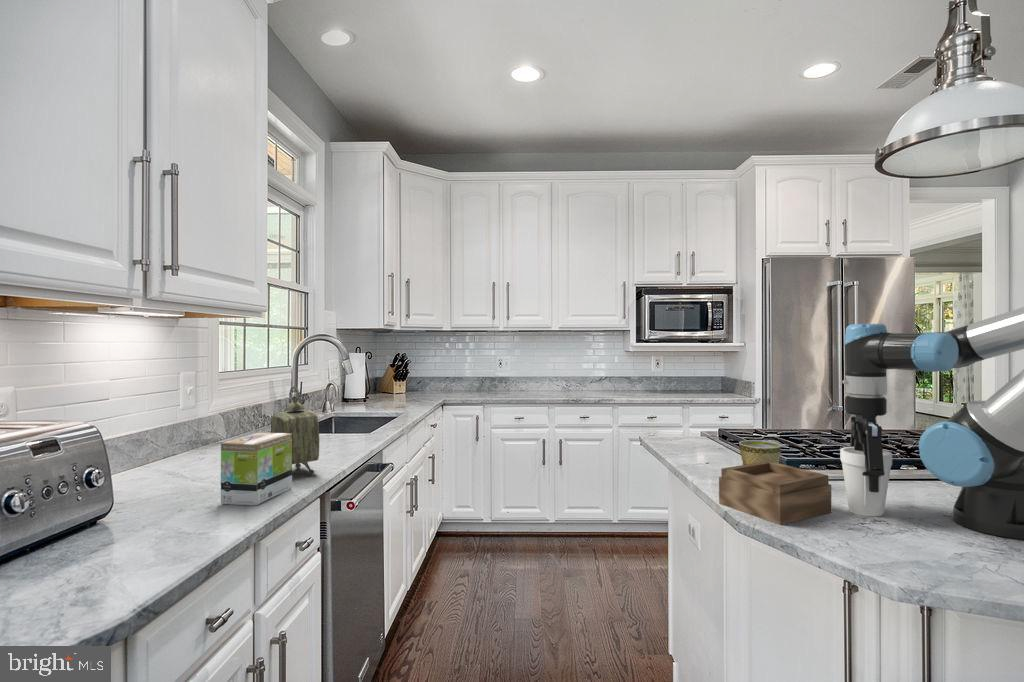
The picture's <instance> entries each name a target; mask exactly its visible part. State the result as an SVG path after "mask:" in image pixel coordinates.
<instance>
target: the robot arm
mask: <svg viewBox="0 0 1024 682" xmlns="http://www.w3.org/2000/svg"><path fill="white" fill-rule="evenodd" d="M844 337H845V338H844V344H843V345H844V355H845V356H844V358H845V359H844V360H845V361H844V362H845V366H844V367H845V373H844V374H845V377H844V378H845V379H843V380H842V381H841V382H842V384H843V385H844V387H845V388H844V389H845V393H846V394H848V395H846V396H845V397H844V398H845V399H844V400H845V401H844V411H845V413H847V414H850V415H854V416H851V417H850V422H851V423H850V424H851V425H850V427H851V428H850V442H849V443H850V444H849V447H855V450H857V451H863V453H864V455H865V468H866V472H863V473H862V475H863V476H864V506H865V507H877V508H881V476H884V464H883V451H882V450H883V443H882V442H883V441H882V435H883V433H882V432H883V428H882V426H881V425H879V424H878V423H877V419H876V418H877V417H878V416H879V417H880V416H881V417H882V416H885V415H886V414H887V410H888V409H887V407H888V406H887V401H888V400H887V398H886V397H885V395H888V383H887V381H888V380H887V379H888V377H887V371H888V370H900V371H901V370H904V371H918V372H925V373H933V372H934V373H937V372H949V371H951V370H952V369H961V368H966V367H969V366H971V365H973V364H975V363H978V362H982V361H984V360H987V359H991V358H995V357H1000V356H1003V355H1006V354H1007V355H1008V354H1011V353H1015V352H1017V351H1023V350H1024V306H1023V307H1020V308H1017V309H1013V310H1010V311H1007V312H1004V313H1000V314H997V315H994V316H990V317H988V318H985V319H983V320H978V321H976V322H973V323H969V324H967V325H963V326H959V327H957V328H953V329H951V330H946V331H937V332H935V331H933V332H932V331H931V332H930V331H927V332H897V333H896V332H895V333H894V332H888V329H887V326H886V324H884V323H853V324H849V325H847V326H846V328H845V336H844ZM918 450H919V457H920V460H921V462H922V463H923V465H924V467H925V468H926V470H928V471H929V473H930V474H931V475H933V477H935V478H936V479H938V480H939V481H941V482H943V483H946V484H947V485H950V486H955V487H959V488H960V487H961V488H960V491H959V492H958V493H959V494H958V496H957V498H956V501H955V502H954V504H953V507H952V509H953V510H952V519H953V521H954V522H956V523H957V524H958V525H960V526H963V527H965V528H967V529H971V530H973V531H977V532H980V533H982V534H983V533H984V534H987V535H992V536H997V537H1003V538H1009V539H1015V540H1016V539H1017V540H1024V369H1022V370H1021V371H1020V372H1019V373H1017V374H1016V375H1014V376H1013V378H1012V379H1010V380H1009V381H1008V382H1006V383H1005V384H1004V385H1003V386H1002V387H1000V388H999V389H998V390H997V391H996V392H995V393H993V394H992V395H991V396H990V397H989V398H987V399H986V400H970V401H968V402H967V403H966V404H965V405H964V406H962V407H961V408H960V409H959V410H957V411H956V412H955V413H954V414H953V415H952V416H950V417H949V418H947V420H945V421H941V422H940V421H939V422H937V423H934V424H932V425H931V426H929V427H928V428H926V429H925V430H924V432H922V433H921V435H920V438H919V441H918ZM873 468H876V469H873Z"/></svg>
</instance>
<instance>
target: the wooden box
mask: <svg viewBox="0 0 1024 682" xmlns="http://www.w3.org/2000/svg"><path fill="white" fill-rule="evenodd" d="M720 473H721V476H719V477H718V503H719V505H722V506H725V507H728V508H731V509H734V510H737V511H739V512H742V513H746V514H748V515H750V516H753V517H757V518H759V519H762V520H765V521H768V522H771V523H774V524H777V525H779V526H782V525H784V524H785V525H786V524H790V523H793V522H798V521H799V522H800V521H802V520H806V519H811V518H815V517H818V516H819V517H820V516H823V515H826V514H827V515H828V514H831V513H832V484H830V483H829V475H828V474H824V473H820V472H816V471H812V470H807V469H803V468H799V467H795V466H791V465H787V464H782V463H780V462H779V463H775V462H771V461H764V462H758V463H752V464H746V465H743V464H741V465H735V466H729V467H723V468H721V472H720Z"/></svg>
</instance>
